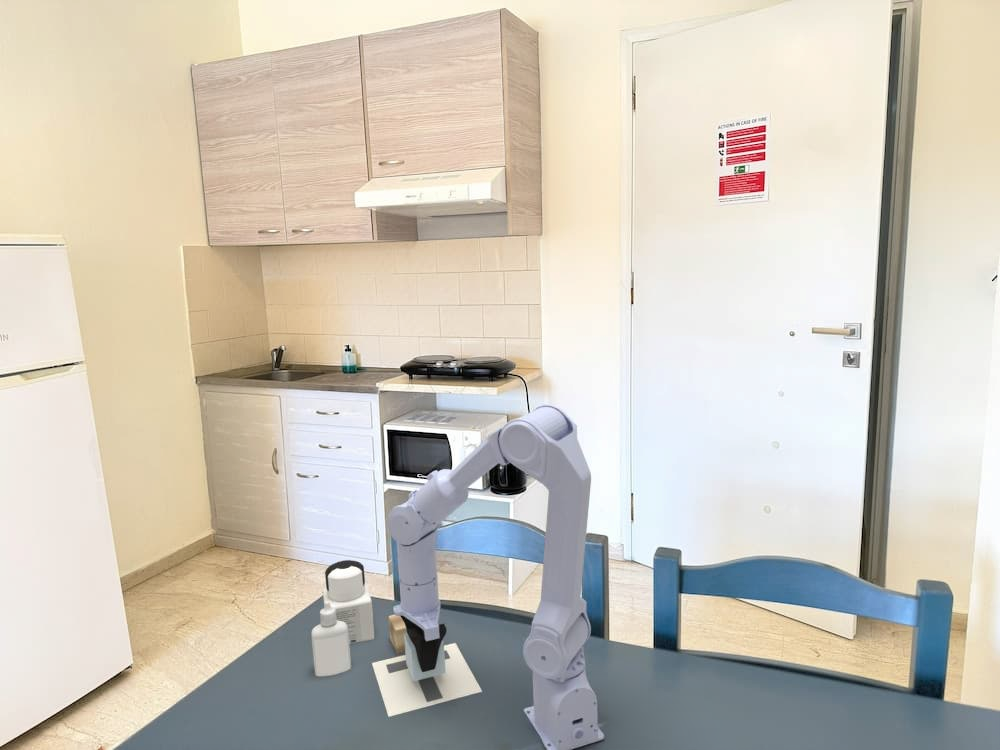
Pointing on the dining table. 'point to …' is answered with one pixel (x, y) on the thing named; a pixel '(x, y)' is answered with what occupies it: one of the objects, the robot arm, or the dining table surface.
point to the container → (350, 598)
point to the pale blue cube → (414, 664)
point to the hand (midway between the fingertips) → (423, 659)
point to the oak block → (397, 633)
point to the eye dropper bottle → (330, 644)
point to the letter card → (423, 683)
